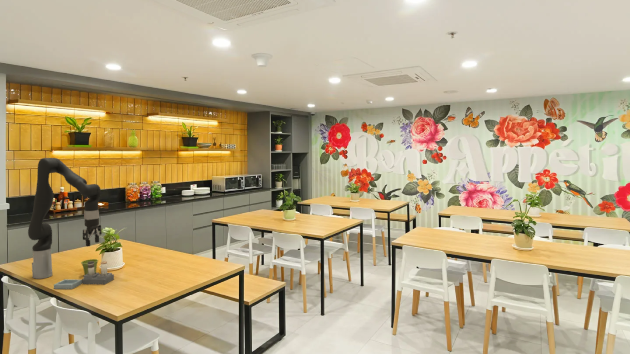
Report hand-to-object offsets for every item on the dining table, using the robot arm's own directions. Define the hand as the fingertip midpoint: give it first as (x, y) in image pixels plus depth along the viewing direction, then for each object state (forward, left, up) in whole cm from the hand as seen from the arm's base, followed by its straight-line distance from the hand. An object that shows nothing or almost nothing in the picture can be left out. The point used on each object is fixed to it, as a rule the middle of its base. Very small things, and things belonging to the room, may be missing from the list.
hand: (92, 244), depth 225 cm
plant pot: (-10, +11, -23) cm, 27 cm away
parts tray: (-9, -10, -22) cm, 26 cm away
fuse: (+7, -1, -19) cm, 21 cm away
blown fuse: (-1, -1, -19) cm, 19 cm away
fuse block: (+3, -1, -22) cm, 23 cm away
